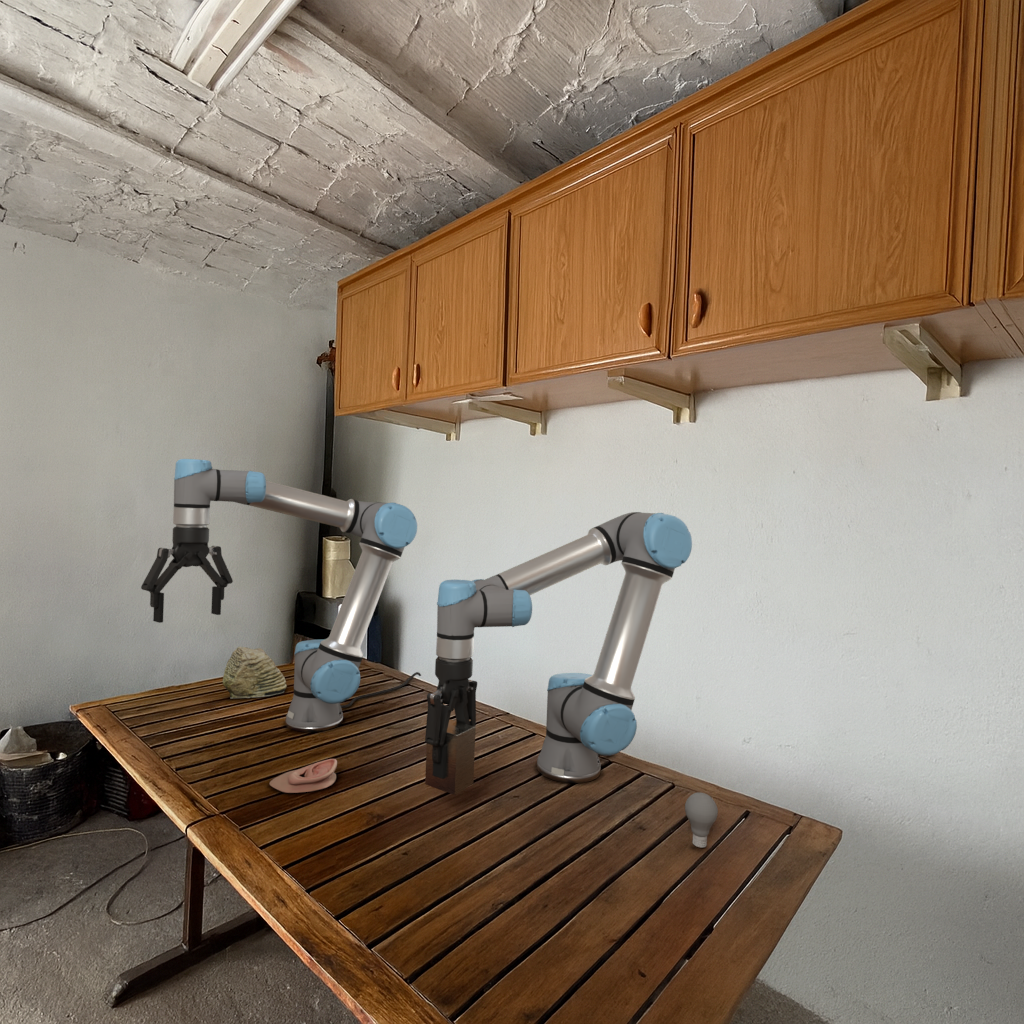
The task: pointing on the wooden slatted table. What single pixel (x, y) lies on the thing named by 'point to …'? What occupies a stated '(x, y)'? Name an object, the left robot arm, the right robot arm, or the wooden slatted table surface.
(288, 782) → the anatomical model
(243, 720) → the wooden slatted table surface
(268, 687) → the fossil
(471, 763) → the block
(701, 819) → the light bulb
